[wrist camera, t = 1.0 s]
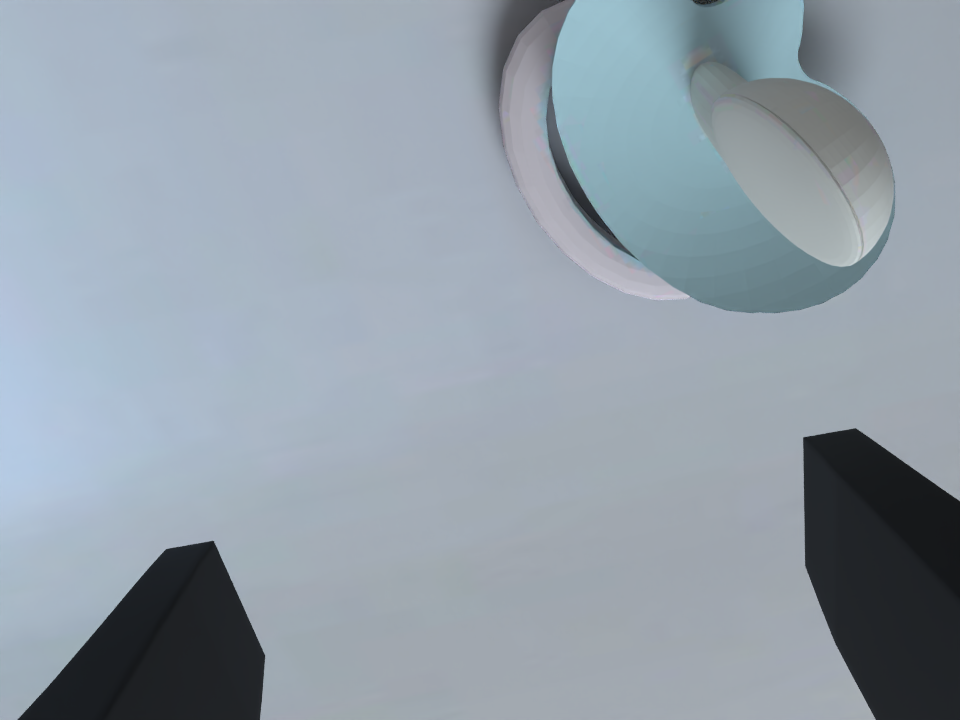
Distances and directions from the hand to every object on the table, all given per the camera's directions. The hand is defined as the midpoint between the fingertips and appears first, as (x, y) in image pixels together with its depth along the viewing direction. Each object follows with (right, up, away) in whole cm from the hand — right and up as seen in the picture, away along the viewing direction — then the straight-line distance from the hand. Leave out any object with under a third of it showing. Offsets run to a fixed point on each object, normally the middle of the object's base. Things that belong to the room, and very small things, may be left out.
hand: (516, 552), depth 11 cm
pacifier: (+3, +7, +6) cm, 10 cm away
